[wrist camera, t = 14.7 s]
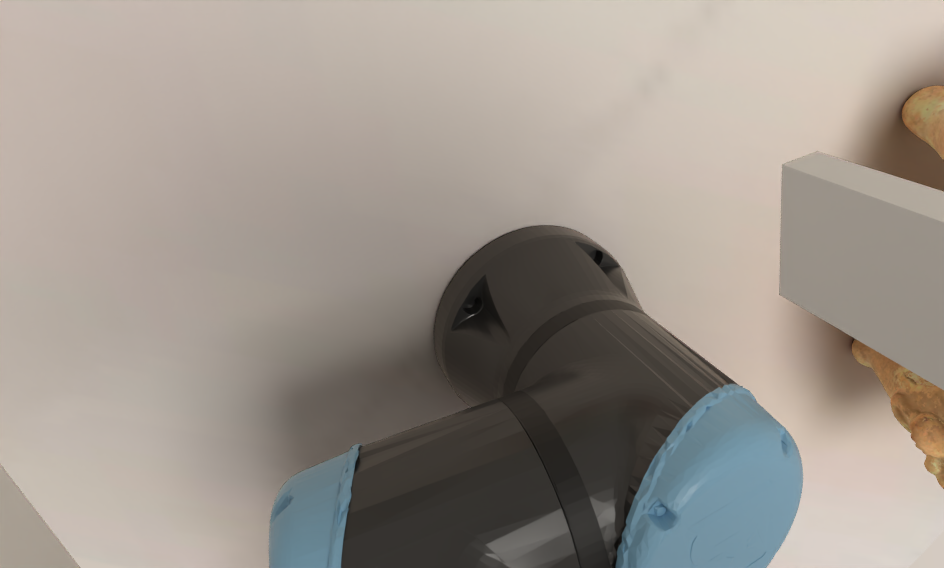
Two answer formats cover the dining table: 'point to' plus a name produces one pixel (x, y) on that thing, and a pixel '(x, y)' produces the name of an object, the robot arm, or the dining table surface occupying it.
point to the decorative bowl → (912, 397)
